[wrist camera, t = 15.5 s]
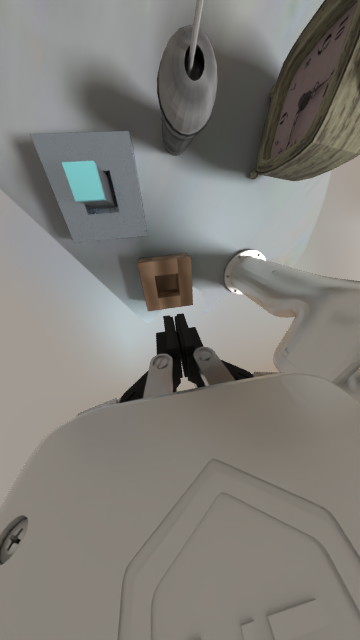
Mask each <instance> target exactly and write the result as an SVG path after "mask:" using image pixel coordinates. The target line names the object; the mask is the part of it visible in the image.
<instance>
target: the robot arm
mask: <svg viewBox="0 0 360 640" xmlns="http://www.w3.org/2000/svg"><path fill="white" fill-rule="evenodd" d="M238 256H239V257H238ZM224 282H225V285H226V287H227V288H228V289H229V290H230V291H231V292H233V293H235V294H244V295H246V296H247V297H248V298H250V299H251V300H252V301H254V302H255V303H257V304H258V305H259V306H261V307H262V308H263V309H265V310H266V311H268V312H269V313H271V314H272V315H275V316H278V317H295V318H294V320H293V322H292V324H291V326H290V328H289V329H288V331H287V332H286V334H285V335H284V337H283V339H282V340H281V342H280V343H279V345H278V347H277V348H276V350H275V352H274V355H273V362H274V365H275V367H276V368H277V370H278V371H279V372H280V373H275V372H254V373H253V374H251V373H250V372H248V371H246V370H244V369H241V368H239V367H237V366H234V365H232V364H230V363H227V362H225V361H223V360H220V359H219V357H218V356H217V355H216V353H215V352H214V351H213V350H212V349H210V348H208V347H203V344H202V342H201V340H200V337H199V335H198V333H197V330H196V328H195V327H192V328H188V325H187V322H186V319H185V317H184V314H177V316H175V325H176V330H175V325H174V321H173V317H170V316H163V318H164V326H165V332H160V333H156V339H157V340H156V341H157V355H156V356H155V357H153V358H152V360H151V362H150V367H149V370H148V371H147V372H146V373H145V374H144V375H143V376H142V377H141V378H140V379H139V380H138V381H137V382H136V383H135V384H134V385H133V386H132V387H131V388H130V389H129V390H127V391H126V392H125V393H124V395H123V396H122V397H121V398H120V399H116V398H115V399H112V400H110V401H108V402H105V403H103V404H100V405H98V406H95V407H93V408H90V409H88V410H85V411H83V412H81V413H79V414H78V415H77V416H76V417H74V418H72V419H71V420H69V421H67V422H65V423H63V424H62V425H60V426H59V427H57V428H56V429H54V430H53V431H51V432H50V433H49V434H48V435H47V436H46V437H45V438H44V439H43V440H42V441H41V442H40V443H39V444H38V446H37V447H36V448H35V450H34V451H33V453H32V454H31V456H30V457H29V459H28V460H27V462H26V463H25V465H24V467H23V468H22V470H21V472H20V474H19V475H18V477H17V478H16V480H15V482H14V484H13V485H12V487H11V489H10V491H9V493H8V494H7V496H6V498H5V500H4V502H3V503H2V505H1V507H0V640H360V369H359V368H360V281H354V280H346V279H338V278H332V277H326V276H321V275H317V274H312V273H309V272H305V271H301V270H298V269H294V268H291V267H287V266H284V265H280V264H277V263H274V262H270V261H267V260H266V258H265V257H264V255H263V254H262V253H261V252H259V251H256V250H245V251H242V252H240V253H238V254H237V255H235V256H234V257H233V258H232V259H231V260H230V262H229V263H228V265H227V267H226V269H225V273H224ZM181 362H182V366H183V371H184V376H185V377H188V381H191V382H192V383H194V384H195V388H194V389H189V390H184V391H179V392H177V387H178V386H179V384H180V383H181V380H180V378H182V377H183V376H182V367H181Z"/></svg>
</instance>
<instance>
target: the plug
mask: <svg viewBox="0 0 360 640" xmlns="http://www.w3.org/2000/svg"><path fill="white" fill-rule="evenodd" d="M62 165H63V168H64V171H65V173H66V176H67V179H68V182H69V185H70V187H71V190H72V193H73V196H74V199H75V201H76V202H79V203H82V204H85V205H88V206H91V207H94V208H97V209H104V208H117V207H118V204H117V200H116V196H115V191H114V187H113V183H112V181H111V180H110V179H109V177H108V176H107V175H106V174H105V173H104V172H103V171H102V170H101V169H100V167H99V166H98V165H97V164H96V163H95V162H94V161H77V162H62Z"/></svg>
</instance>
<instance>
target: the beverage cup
mask: <svg viewBox="0 0 360 640" xmlns="http://www.w3.org/2000/svg"><path fill="white" fill-rule="evenodd" d="M203 1H204V0H197V3H196V10H195V17H194V24H193V26H191V25H189V26H186V27H183V28H180V29H179V30H178V31H177V32H176V33H175V34H174V35H173V36H172V37H171V38H170V40H169V42H168V44H167V46H166V48H165V50H164V53H163V56H162V59H161V62H160V66H159V71H158V77H157V94H158V99H159V104H160V109H161V114H162V134H163V141H164V145H165V147H166V150H167V151H168V152H169V153H170V154H172V155H175V156H177V155H180V154H181V153H182V152H183V151H184V150H185V149H186V148H187V146H188V145H189V143H190V142H191V141H192V139H193V138H194V136H195V135H197V134H198V133H199V132H200V131H201V130H202V129H204V127H205V126H206V124H207V122H208V121H209V119H210V116H211V113H212V110H213V107H214V102H215V98H216V90H217V63H216V59H215V55H214V51H213V47H212V45H211V43H210V41H209V39H208V37H207V35H206V34H205V33H204V32H202V31H201V30H200V29H199V25H200V19H201V13H202V7H203Z"/></svg>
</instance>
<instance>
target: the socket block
mask: <svg viewBox="0 0 360 640" xmlns="http://www.w3.org/2000/svg"><path fill="white" fill-rule="evenodd" d="M30 136H31V138H32V140H33V143H34V145H35V148H36V150H37V153H38V155H39V158H40V160H41V163H42V165H43V168H44V170H45V172H46V175H47V177H48V180H49V182H50V185H51V187H52V190H53V192H54V195H55V197H56V199H57V202H58V204H59V207H60V209H61V212H62V214H63V217H64V219H65V222H66V224H67V226H68V229H69V231H70V234H71V236H72V239H73V241H74V243H78V242H88V241H98V240H109V239H119V238H130V237H140V236H147V235H148V234H147V228H146V222H145V216H144V210H143V204H142V198H141V193H140V187H139V181H138V175H137V169H136V163H135V157H134V151H133V146H132V142H131V138H130V134H129V131H110V132H79V133H49V134H30ZM77 161H94V162H95V163H96V164H97V165H98V166H99V167H100V169H101V170H102V171H103V172H104V173H105V174H106V175H107V176H108V177H109V179H110V180H111V181H112V183H113V187H114V191H115V196H116V200H117V204H118V207H117V208H104V209H97V208H94V207H91V206H88V205H85V204H82V203H79V202H76V201H75V199H74V196H73V193H72V190H71V187H70V185H69V182H68V179H67V176H66V173H65V171H64V168H63V165H62V162H77Z"/></svg>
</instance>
